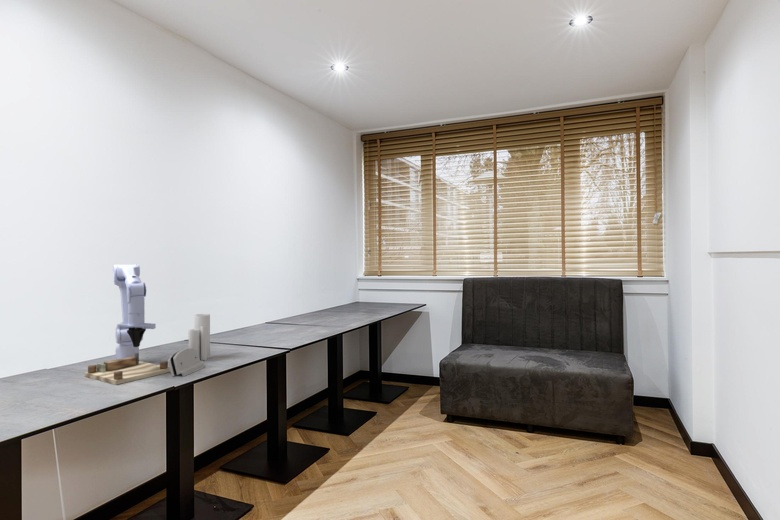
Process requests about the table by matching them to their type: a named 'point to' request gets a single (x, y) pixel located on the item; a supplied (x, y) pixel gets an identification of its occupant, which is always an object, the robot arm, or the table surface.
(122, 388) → the table surface
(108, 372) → the board
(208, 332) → the vase
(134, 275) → the robot arm
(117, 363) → the folding leg
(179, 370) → the grey rounded block
